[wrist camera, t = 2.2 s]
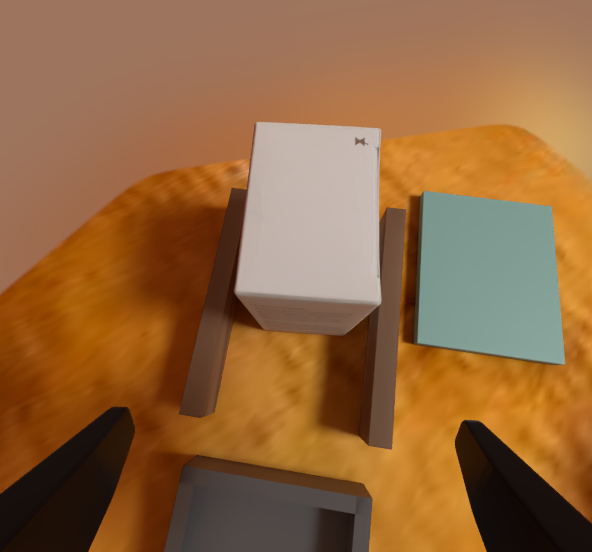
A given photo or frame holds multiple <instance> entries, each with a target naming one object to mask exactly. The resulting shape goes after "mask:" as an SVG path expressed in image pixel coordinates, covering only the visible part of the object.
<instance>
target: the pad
mask: <svg viewBox="0 0 592 552" xmlns="http://www.w3.org/2000/svg"><path fill="white" fill-rule="evenodd" d="M413 344H416V345H423V346H429V347H436V348H443V349H450V350H456V351H463V352H470V353H477V354H483V355H490V356H497V357H504V358H511V359H517V360H524V361H531V362H538V363H544V364H551V365H565V358H564V346H563V334H562V322H561V311H560V299H559V287H558V275H557V263H556V251H555V239H554V227H553V216H552V206H543V205H535V204H527V203H519V202H511V201H502V200H494V199H486V198H478V197H470V196H461V195H453V194H445V193H437V192H429V191H424V192H423V193H422V195H421V196H420V210H419V232H418V254H417V276H416V298H415V319H414V341H413Z"/></svg>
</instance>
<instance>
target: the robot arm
mask: <svg viewBox="0 0 592 552" xmlns="http://www.w3.org/2000/svg"><path fill="white" fill-rule="evenodd" d="M134 433H135V426H134V423H133V419H132V416H131V413H130V410H129V409H128V408H127V407H112V408H110V409H108V410H107V411H106V412H104V413H103V414H102V415H101V416H99V417H98V418H97V419H95V420H94V421H93V422H92V423H90V424H89V425H88V426H87V427H85V428H84V429H83V430H81V431H80V432H79V433H78V434H76V435H75V436H74V437H73V438H71V439H70V440H69V441H67V442H66V443H65V444H64V445H62V446H61V447H60V448H58V449H57V450H56V451H55V452H53V453H52V454H51V455H50V456H48V457H47V458H46V459H44V460H43V461H42V462H41V463H39V464H38V465H37V466H36V467H34V468H33V469H32V470H30V471H29V472H28V473H27V474H25V475H24V476H23V477H21V478H20V479H19V480H18V481H16V482H15V483H14V484H13V485H11V486H10V487H9V488H7V489H6V490H5V491H4V492H2V493H1V494H0V552H88V551H89V549H90V546H91V544H92V542H93V540H94V538H95V535H96V533H97V531H98V529H99V527H100V524H101V522H102V520H103V518H104V515H105V513H106V511H107V509H108V507H109V504H110V502H111V500H112V497H113V495H114V492H115V489H116V487H117V484H118V481H119V478H120V475H121V472H122V469H123V466H124V464H125V461H126V458H127V455H128V452H129V449H130V446H131V443H132V440H133V437H134ZM455 448H456V452H457V456H458V460H459V464H460V468H461V472H462V475H463V479H464V483H465V487H466V491H467V494H468V498H469V502H470V505H471V509H472V512H473V515H474V518H475V521H476V524H477V527H478V529H479V532H480V535H481V537H482V540H483V543H484V546H485V548H486V551H487V552H592V523H591V522H590V521H588V520H587V519H586V518H585V517H584V516H583V515H582V514H581V513H580V512H579V511H578V510H576V509H575V508H574V507H573V506H572V505H571V504H570V503H569V502H568V501H567V500H566V499H564V498H563V497H562V496H561V495H560V494H559V493H558V492H557V491H556V490H555V489H554V488H552V487H551V486H550V485H549V484H548V483H547V482H546V481H545V480H544V479H543V478H542V477H540V476H539V475H538V474H537V473H536V472H535V471H534V470H533V469H532V468H531V467H530V466H529V465H527V464H526V463H525V462H524V461H523V460H522V459H521V458H520V457H519V456H518V455H517V454H515V453H514V452H513V451H512V450H511V449H510V448H509V447H508V446H507V445H506V444H505V443H503V442H502V441H501V440H500V439H499V438H498V437H497V436H496V435H495V434H494V433H493V432H491V431H490V430H489V429H488V428H487V427H486V426H485V425H484V424H483V423H481V422H480V421H476V420H464V421H463V422H462V423H461V425H460V428H459V431H458V433H457V436H456V439H455Z"/></svg>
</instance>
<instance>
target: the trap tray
mask: <svg viewBox="0 0 592 552" xmlns="http://www.w3.org/2000/svg"><path fill="white" fill-rule="evenodd" d="M371 511H372V497H371V496H370V494H369V492H368V491H367V489H366V487H365V486H364V484H361V483H355V482H349V481H343V480H338V479H332V478H326V477H320V476H314V475H309V474H303V473H297V472H291V471H286V470H280V469H274V468H268V467H262V466H257V465H251V464H245V463H239V462H234V461H228V460H222V459H216V458H210V457H205V456H199V455H197V456H195V457H194V458H193V459H191V460H190V461H189V462H187V463H186V464H185V465H183V468H182V473H181V477H180V482H179V486H178V491H177V495H176V500H175V504H174V509H173V513H172V518H171V522H170V527H169V531H168V536H167V540H166V545H165V549H164V552H369V539H370V525H371Z"/></svg>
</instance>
